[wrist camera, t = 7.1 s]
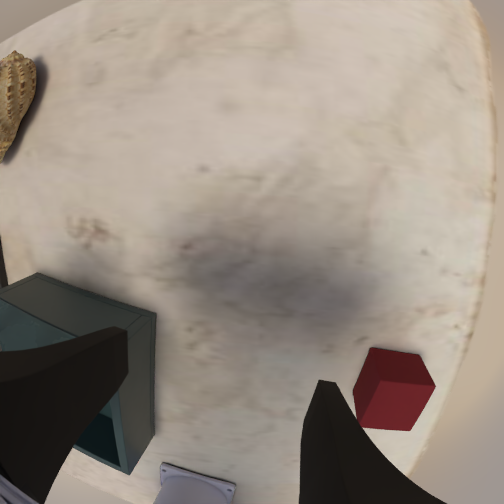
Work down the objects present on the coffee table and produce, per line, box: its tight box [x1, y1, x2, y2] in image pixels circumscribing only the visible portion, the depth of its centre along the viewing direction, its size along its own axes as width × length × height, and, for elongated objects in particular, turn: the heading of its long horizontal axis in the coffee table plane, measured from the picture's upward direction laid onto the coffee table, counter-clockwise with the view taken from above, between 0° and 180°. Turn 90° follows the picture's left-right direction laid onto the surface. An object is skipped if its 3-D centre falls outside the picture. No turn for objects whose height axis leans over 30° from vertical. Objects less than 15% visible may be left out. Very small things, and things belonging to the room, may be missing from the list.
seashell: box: [0, 50, 36, 163], centre depth 19 cm, size 8×6×10 cm
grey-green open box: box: [0, 273, 156, 475], centre depth 22 cm, size 14×13×6 cm
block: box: [353, 348, 436, 431], centre depth 18 cm, size 4×4×4 cm
